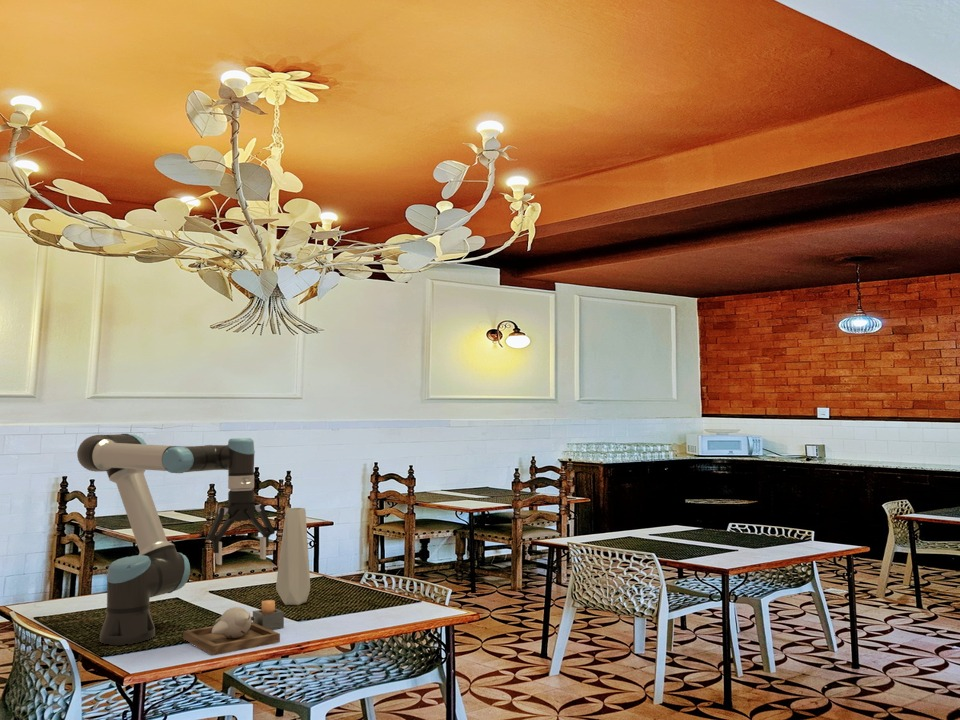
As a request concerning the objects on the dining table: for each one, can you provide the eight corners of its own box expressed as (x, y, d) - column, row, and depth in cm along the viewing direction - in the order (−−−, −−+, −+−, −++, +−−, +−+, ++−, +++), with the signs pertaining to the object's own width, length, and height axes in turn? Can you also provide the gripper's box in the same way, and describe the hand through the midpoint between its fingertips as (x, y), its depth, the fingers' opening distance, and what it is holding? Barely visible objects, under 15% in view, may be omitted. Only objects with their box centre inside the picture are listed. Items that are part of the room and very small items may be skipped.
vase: (300, 608, 282) (301, 510, 284) (271, 605, 286) (272, 510, 288) (319, 600, 293) (319, 507, 296) (291, 598, 297) (291, 506, 300)
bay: (212, 655, 225) (212, 646, 225) (183, 639, 242) (183, 631, 242) (279, 642, 238) (279, 633, 238) (247, 628, 255) (247, 620, 255)
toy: (225, 646, 247) (207, 648, 233) (216, 618, 250) (199, 618, 235) (266, 629, 248) (252, 629, 234) (258, 600, 251) (243, 600, 237)
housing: (262, 631, 250) (262, 615, 250) (252, 627, 255) (252, 611, 256) (283, 627, 255) (283, 611, 255) (273, 623, 260) (273, 607, 260)
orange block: (265, 620, 252) (265, 603, 253) (259, 617, 255) (259, 601, 256) (277, 617, 255) (277, 601, 255) (271, 615, 258) (271, 599, 258)
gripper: (204, 493, 236) (204, 568, 235) (285, 487, 252) (285, 558, 250) (195, 491, 242) (195, 565, 240) (275, 486, 258) (275, 555, 256)
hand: (241, 561), depth 245 cm, fingers open, 13 cm apart
